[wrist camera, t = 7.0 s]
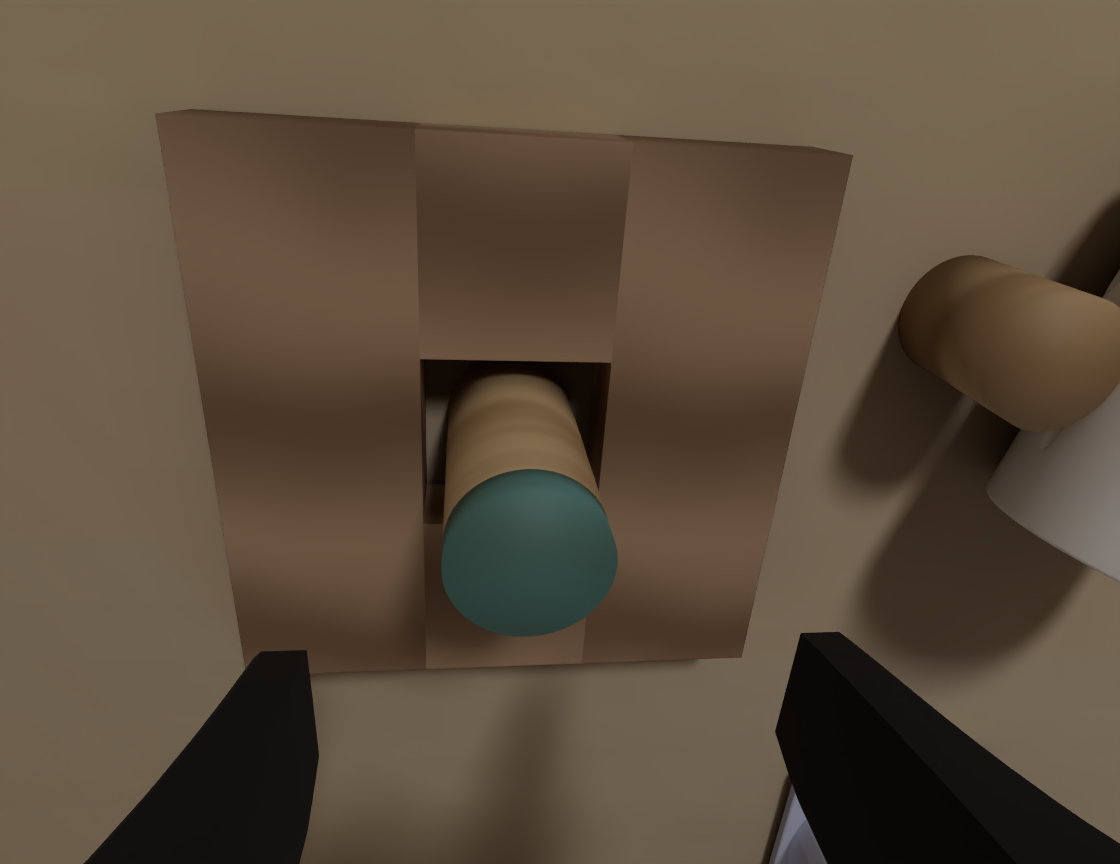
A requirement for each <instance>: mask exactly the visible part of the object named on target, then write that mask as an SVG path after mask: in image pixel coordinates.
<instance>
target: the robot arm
mask: <svg viewBox="0 0 1120 864" xmlns="http://www.w3.org/2000/svg"><path fill="white" fill-rule="evenodd" d="M775 733H776V736H777V739H778V742H779V745H780V749H781V752H782V755H783V758H784V761H785V764H786V768H787V771H788V773H789V776H790V779H791V782H792V786H791V789H790V793H789V796H788V800H787V803H786V806H785V810H784V813H783V817H782V820H781V824H780V827H779V831H778V834H777V837H776V841H775V844H774V848H773V851H772V855H771V858H770V862H769V864H1120V844H1119V843H1118V842H1116V841H1115V840H1113V839H1112V838H1110V837H1109V836H1107V835H1106V834H1104V833H1102V832H1101V831H1099V830H1098V829H1096V828H1095V827H1093V826H1092V825H1090V824H1089V823H1087V822H1086V821H1084V820H1083V819H1081V818H1080V817H1078V816H1077V815H1075V814H1074V813H1072V812H1071V811H1070V810H1068V809H1067V808H1065V807H1064V806H1062V805H1061V804H1059V803H1058V802H1057V801H1055V800H1054V799H1052V798H1051V797H1050V796H1048V795H1047V794H1045V793H1044V792H1043V791H1041V790H1040V789H1039V788H1037V787H1036V786H1034V785H1033V784H1032V783H1030V782H1029V781H1028V780H1026V779H1025V778H1023V777H1022V776H1021V775H1019V774H1018V773H1017V772H1015V771H1014V770H1012V769H1011V768H1010V767H1008V766H1007V765H1006V764H1004V763H1003V762H1002V761H1000V760H999V759H998V758H996V757H995V756H994V755H993V754H991V753H990V752H989V751H987V750H986V749H985V748H983V747H982V746H981V745H979V744H978V743H977V742H976V741H974V740H973V739H972V738H970V737H969V736H968V735H967V734H965V733H964V732H963V731H961V730H960V729H959V728H958V727H956V726H955V725H954V724H953V723H951V722H950V721H949V720H948V719H946V718H945V717H944V716H943V715H941V714H940V713H939V712H938V711H936V710H935V709H934V708H933V707H932V706H930V705H929V704H928V703H927V702H925V701H924V700H923V699H922V698H920V697H919V696H918V695H917V694H916V693H914V692H913V691H912V690H911V689H909V688H908V687H907V686H906V685H905V684H903V683H902V682H901V681H900V680H898V679H897V678H896V677H895V676H894V675H892V674H891V673H890V672H889V671H888V670H886V669H885V668H884V667H883V666H881V665H880V664H879V663H878V662H877V661H875V660H874V659H873V658H872V657H870V656H869V655H868V654H867V653H865V652H864V651H863V650H862V649H860V648H859V647H858V646H857V645H855V644H854V643H853V642H852V641H850V640H849V639H848V638H846V637H845V636H844V635H842V634H841V633H840V632H822V633H801V634H800V638H799V642H798V646H797V650H796V654H795V657H794V661H793V665H792V669H791V673H790V677H789V680H788V684H787V688H786V692H785V696H784V700H783V704H782V707H781V711H780V715H779V719H778V723H777V727H776V730H775ZM318 759H319V751H318V743H317V734H316V725H315V716H314V708H313V699H312V690H311V682H310V673H309V664H308V655H307V650H289V651H261V652H260V653H259V654H258V655H256V656H255V657H254V658H253V659H252V661H251V662H250V664H249V665H248V666H247V668H246V669H245V670H244V672H243V673H242V675H241V676H240V677H239V679H238V680H237V681H236V683H235V684H234V685H233V687H232V688H231V689H230V691H229V692H228V693H227V695H226V696H225V697H224V699H223V700H222V701H221V703H220V704H219V705H218V707H217V708H216V709H215V711H214V712H213V713H212V714H211V716H210V717H209V718H208V720H207V721H206V722H205V723H204V725H203V726H202V727H201V729H200V730H199V731H198V732H197V734H196V735H195V736H194V737H193V739H192V740H191V741H190V742H189V744H188V745H187V746H186V747H185V748H184V750H183V751H182V752H181V753H180V755H179V756H178V757H177V758H176V759H175V761H174V762H173V763H172V764H171V765H170V767H169V768H168V769H167V770H166V772H165V773H164V774H163V775H162V776H161V778H160V779H159V780H158V781H157V782H156V784H155V785H154V786H153V787H152V788H151V790H150V791H149V792H148V793H147V794H146V795H145V797H144V798H143V799H142V800H141V801H140V802H139V803H138V804H137V805H136V807H135V808H134V809H133V810H132V811H131V812H130V813H129V814H128V815H127V817H126V818H125V819H124V820H123V821H122V822H121V823H120V824H119V826H118V827H117V828H116V829H115V830H114V831H113V832H112V833H111V834H110V836H109V837H108V838H107V839H106V840H105V841H104V842H103V843H102V844H101V846H100V847H99V848H98V849H97V850H96V851H95V852H94V853H93V854H92V855H91V857H90V858H89V859H88V860H87V861H86V862H85V863H84V864H299V862H300V858H301V854H302V851H303V847H304V843H305V839H306V835H307V831H308V824H309V818H310V812H311V806H312V800H313V793H314V786H315V779H316V772H317V766H318Z"/></svg>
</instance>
